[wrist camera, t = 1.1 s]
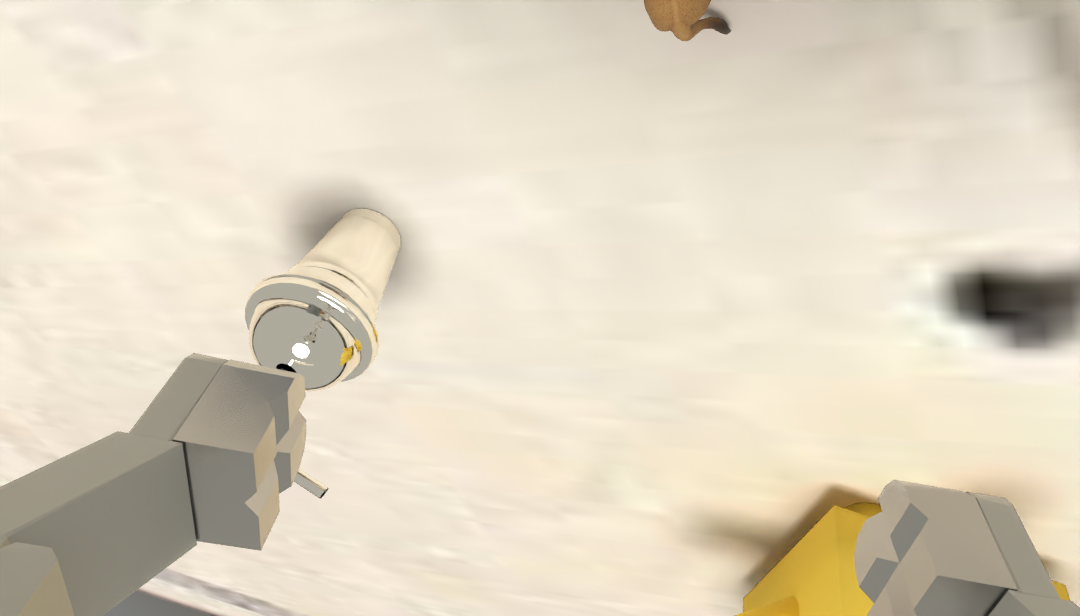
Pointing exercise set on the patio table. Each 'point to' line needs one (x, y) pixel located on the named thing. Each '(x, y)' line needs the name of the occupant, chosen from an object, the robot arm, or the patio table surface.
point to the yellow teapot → (822, 572)
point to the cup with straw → (326, 308)
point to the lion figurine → (683, 17)
